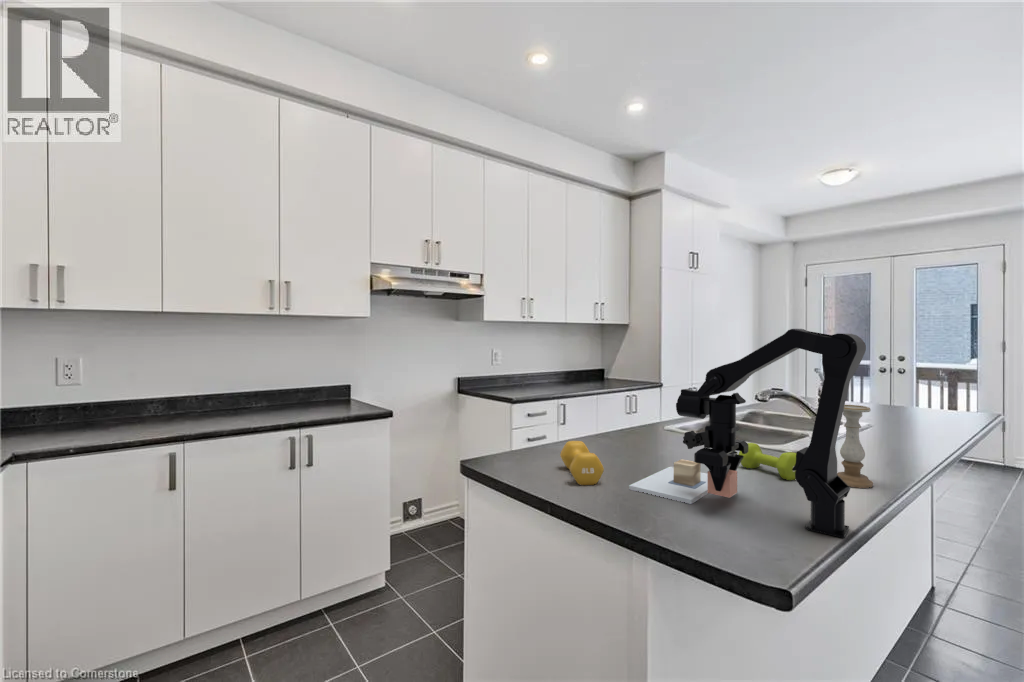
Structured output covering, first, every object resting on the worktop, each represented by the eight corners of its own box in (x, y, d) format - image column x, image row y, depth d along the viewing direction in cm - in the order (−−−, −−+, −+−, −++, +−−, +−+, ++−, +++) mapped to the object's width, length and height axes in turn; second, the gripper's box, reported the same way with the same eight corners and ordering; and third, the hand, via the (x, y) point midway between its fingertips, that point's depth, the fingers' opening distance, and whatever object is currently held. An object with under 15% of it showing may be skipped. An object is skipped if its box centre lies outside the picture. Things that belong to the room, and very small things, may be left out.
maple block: (692, 486, 120) (692, 466, 120) (673, 482, 123) (673, 462, 123) (700, 481, 124) (700, 462, 124) (681, 478, 127) (681, 459, 127)
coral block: (729, 497, 108) (729, 475, 108) (707, 492, 112) (707, 471, 111) (737, 492, 112) (737, 471, 112) (715, 487, 115) (715, 467, 115)
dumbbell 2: (806, 479, 130) (806, 453, 130) (786, 483, 127) (786, 456, 127) (754, 464, 145) (754, 441, 145) (735, 467, 142) (735, 443, 142)
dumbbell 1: (559, 467, 143) (559, 440, 143) (589, 466, 143) (589, 439, 143) (570, 487, 124) (570, 455, 124) (605, 486, 125) (605, 455, 124)
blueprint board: (691, 504, 111) (691, 499, 111) (629, 489, 121) (629, 484, 121) (727, 481, 128) (727, 476, 128) (670, 469, 139) (670, 465, 139)
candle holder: (825, 481, 128) (825, 405, 128) (843, 476, 132) (844, 403, 132) (861, 490, 120) (861, 409, 120) (880, 485, 124) (880, 407, 124)
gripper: (703, 413, 124) (703, 473, 124) (671, 422, 110) (672, 490, 110) (749, 417, 116) (749, 481, 116) (721, 428, 103) (721, 501, 103)
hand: (722, 488), depth 112 cm, fingers closed on coral block, 5 cm apart
